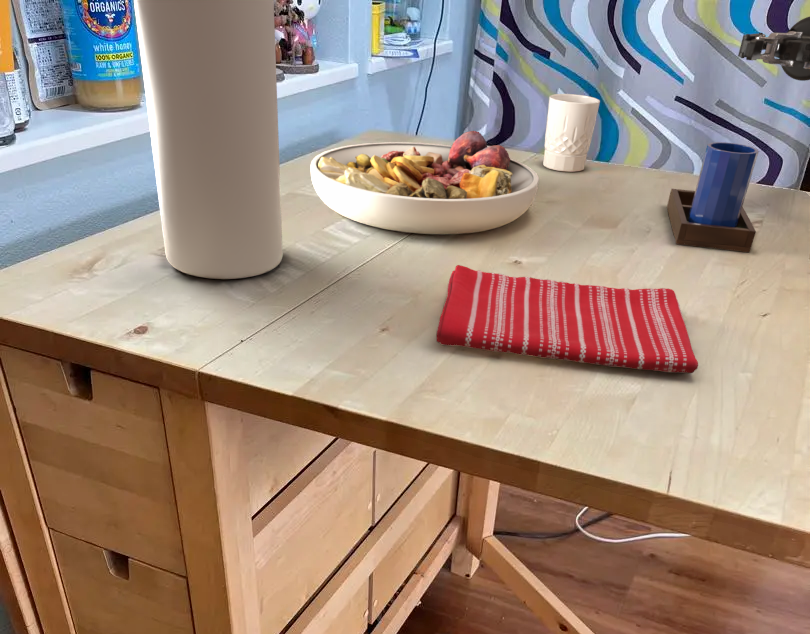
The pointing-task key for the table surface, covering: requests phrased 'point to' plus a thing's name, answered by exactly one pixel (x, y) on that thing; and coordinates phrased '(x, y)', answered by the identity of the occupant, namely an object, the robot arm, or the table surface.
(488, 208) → the bowl
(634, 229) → the table surface
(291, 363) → the table surface
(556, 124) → the white cup
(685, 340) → the dish towel
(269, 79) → the cylinder vase
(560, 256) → the table surface
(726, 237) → the holder
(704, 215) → the cup
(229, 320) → the table surface
